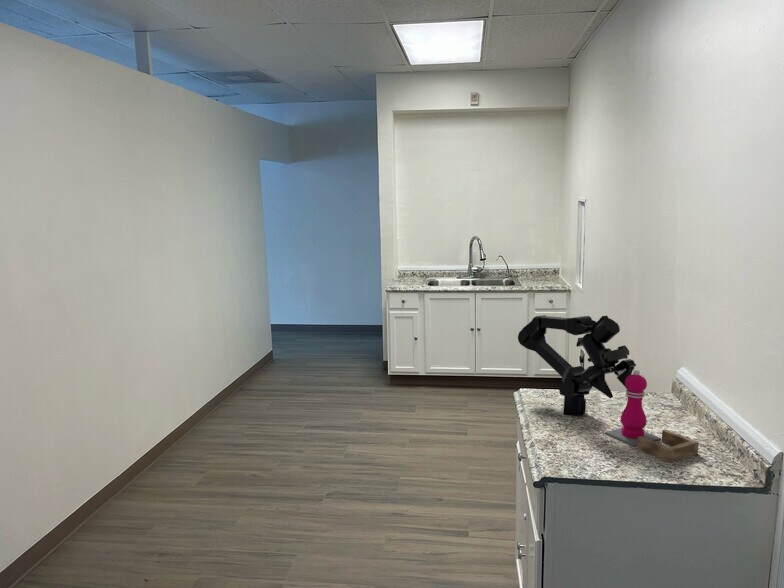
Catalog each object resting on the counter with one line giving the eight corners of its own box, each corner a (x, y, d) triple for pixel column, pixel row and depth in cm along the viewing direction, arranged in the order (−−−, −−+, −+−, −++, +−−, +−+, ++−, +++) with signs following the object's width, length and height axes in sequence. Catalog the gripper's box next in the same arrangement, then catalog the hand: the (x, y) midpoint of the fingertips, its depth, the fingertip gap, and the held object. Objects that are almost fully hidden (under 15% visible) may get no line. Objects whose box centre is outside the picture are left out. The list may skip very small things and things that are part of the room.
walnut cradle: (636, 448, 171) (637, 437, 171) (664, 440, 177) (665, 429, 176) (669, 462, 162) (670, 450, 162) (697, 454, 168) (698, 442, 167)
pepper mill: (645, 431, 182) (649, 367, 179) (646, 440, 175) (650, 374, 172) (619, 428, 184) (623, 365, 181) (619, 437, 178) (623, 371, 175)
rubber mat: (604, 434, 182) (605, 432, 182) (630, 427, 187) (630, 425, 187) (635, 447, 172) (635, 445, 172) (660, 439, 178) (661, 438, 177)
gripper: (590, 340, 179) (617, 387, 171) (633, 333, 188) (661, 377, 180) (569, 359, 187) (594, 404, 180) (611, 352, 196) (637, 395, 188)
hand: (622, 395), depth 182 cm, fingers open, 9 cm apart
